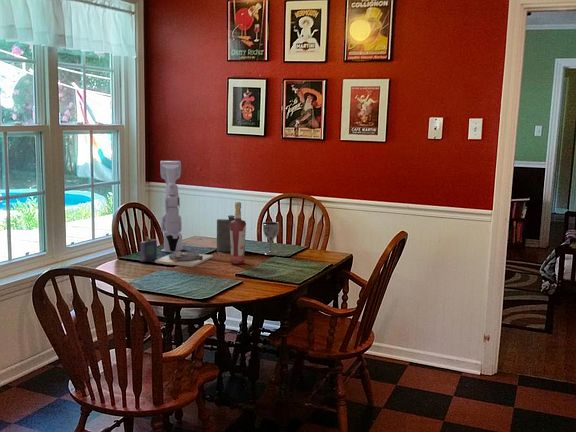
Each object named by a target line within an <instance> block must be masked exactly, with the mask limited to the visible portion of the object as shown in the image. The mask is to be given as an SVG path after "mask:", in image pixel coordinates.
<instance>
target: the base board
mask: <svg viewBox="0 0 576 432" xmlns="http://www.w3.org/2000/svg"><path fill="white" fill-rule="evenodd" d="M175 253H176V252H175ZM171 254H173V253H172V252H171ZM198 254H199V255H200V256H199V258H198V259H196V260H190V261H177V262H175V261H173V260H172V259H170V258H169V255H170V254H168V255H165V256H162V257H160V258H156V259H154V263H156V264H163V265H172V266H173V265H174V266H180V267H189V268H193V267H195V266H199V264H202V263H204V262H206V261H208V260H210V259H213V257H214V256H213V254H204V253H198Z"/></svg>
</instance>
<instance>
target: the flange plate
mask: <svg viewBox="0 0 576 432" xmlns="http://www.w3.org/2000/svg"><path fill="white" fill-rule="evenodd" d="M199 254H200V253H196V252H193V251H192V252H191V251H182V250H180V251H176V253H173V254H172V253H170V254H168V255H169V258H170V259H172V260H173V261H175V262H177V261H190V260H196V259H198V258H199V256H200V255H199Z"/></svg>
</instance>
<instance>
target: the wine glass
mask: <svg viewBox="0 0 576 432" xmlns="http://www.w3.org/2000/svg"><path fill="white" fill-rule="evenodd" d="M279 230H280V223H279V222H277V221H264V222H262V231H263V232H262V233H263V234H264V236H265V238H266V239H267V240H268V243H269V250H268V251H263V255H268V256H274V255H278V252H276V251H272V244H273V241H274V240H275V239H276V237H277V236H278V235H279Z"/></svg>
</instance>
